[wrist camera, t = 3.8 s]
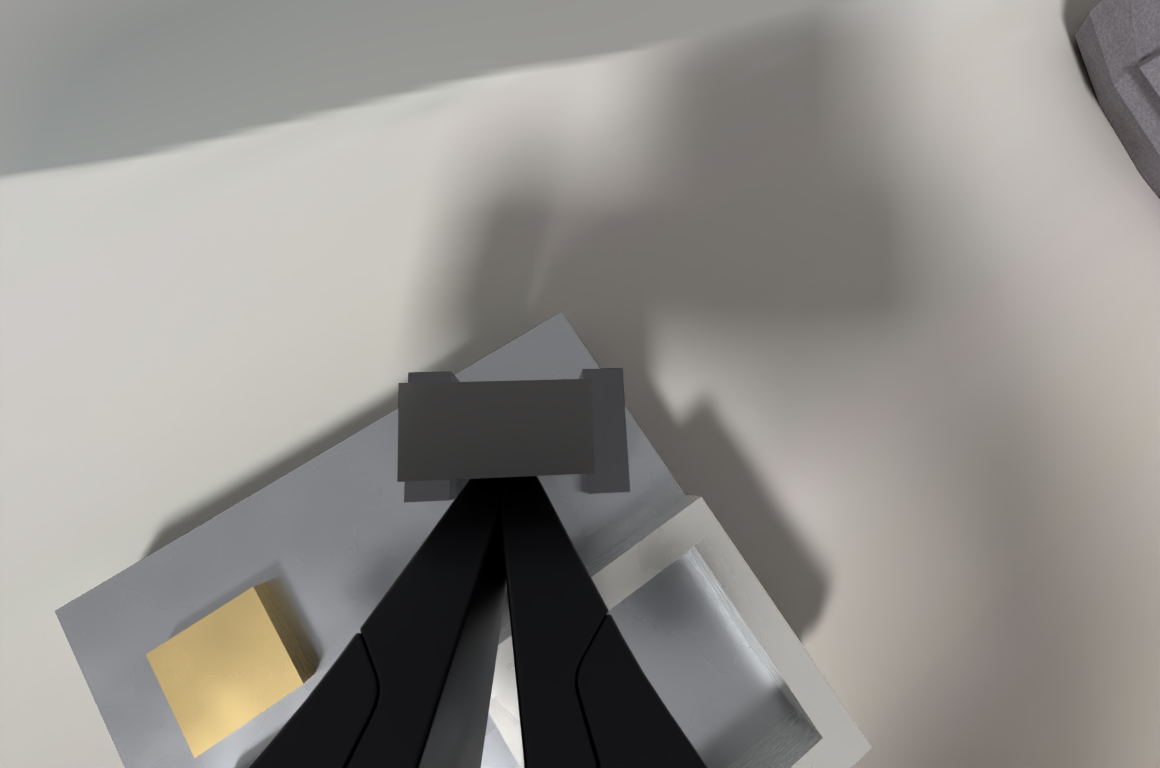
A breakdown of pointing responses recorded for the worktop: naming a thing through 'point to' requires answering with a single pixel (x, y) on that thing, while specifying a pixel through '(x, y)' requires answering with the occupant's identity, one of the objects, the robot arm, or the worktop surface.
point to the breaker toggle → (494, 429)
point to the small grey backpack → (1127, 75)
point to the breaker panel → (382, 550)
